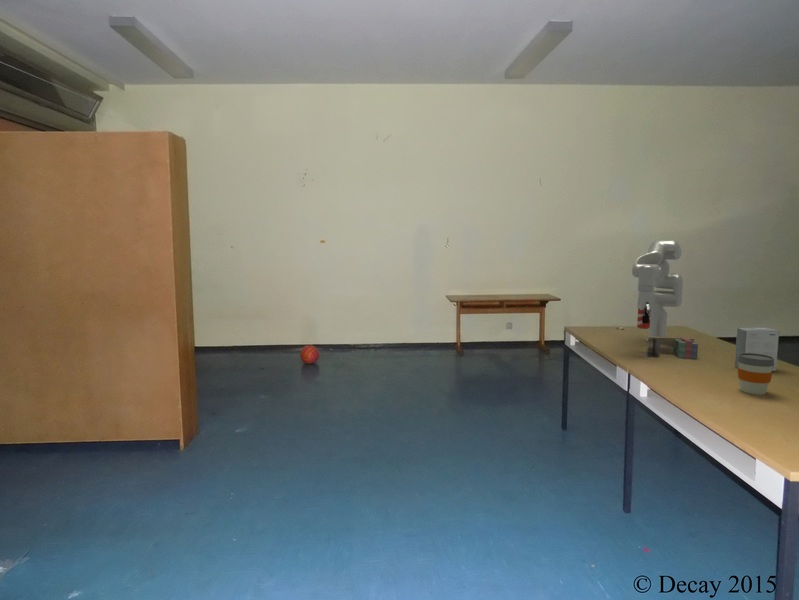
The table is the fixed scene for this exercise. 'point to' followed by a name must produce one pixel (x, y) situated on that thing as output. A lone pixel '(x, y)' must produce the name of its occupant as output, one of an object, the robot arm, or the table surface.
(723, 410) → the table surface
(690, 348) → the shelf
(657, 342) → the bookend
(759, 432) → the table surface
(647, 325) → the beverage can
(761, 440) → the table surface
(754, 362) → the reusable coffee cup
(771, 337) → the hard drive box
